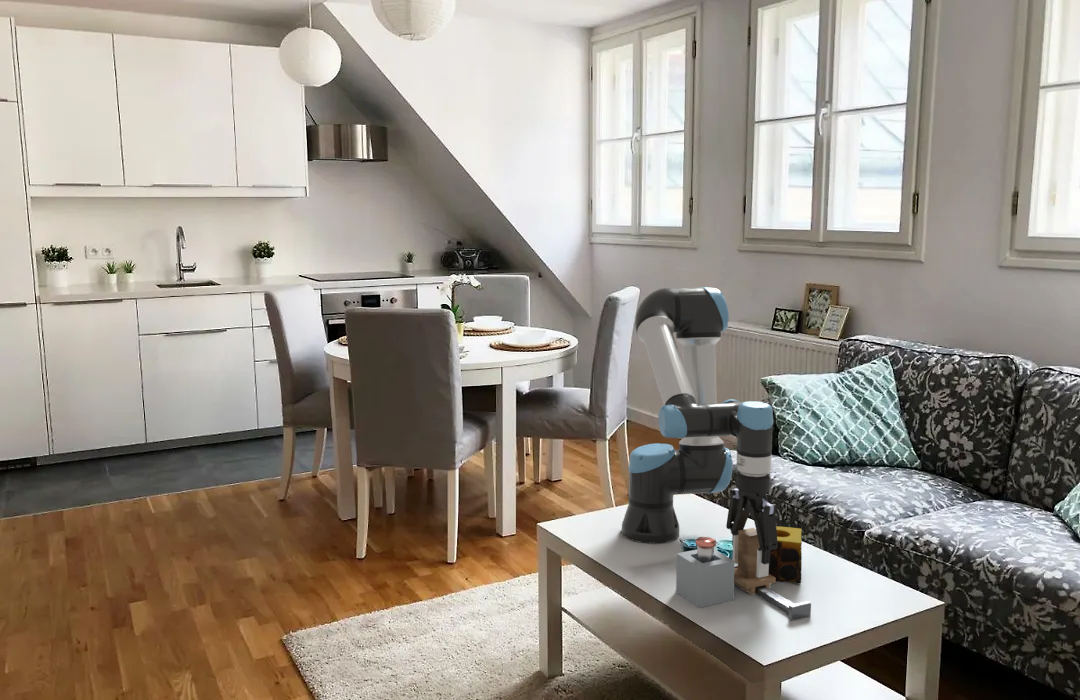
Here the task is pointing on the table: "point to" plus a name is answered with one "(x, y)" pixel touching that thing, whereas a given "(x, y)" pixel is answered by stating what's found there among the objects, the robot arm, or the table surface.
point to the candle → (787, 556)
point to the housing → (705, 578)
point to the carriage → (749, 563)
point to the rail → (784, 603)
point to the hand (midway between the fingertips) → (750, 568)
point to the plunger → (705, 549)
